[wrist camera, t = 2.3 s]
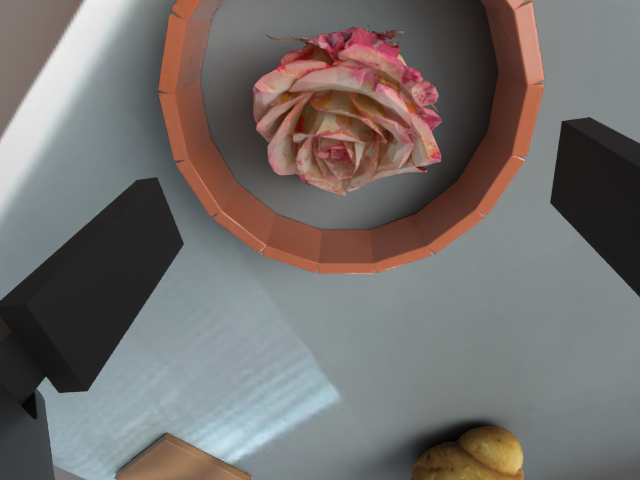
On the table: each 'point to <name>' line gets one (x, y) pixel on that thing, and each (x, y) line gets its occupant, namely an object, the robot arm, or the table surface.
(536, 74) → the terracotta brick ring
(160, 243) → the robot arm
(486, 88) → the table surface
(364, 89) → the flower
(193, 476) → the brown wooden square board
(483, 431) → the bread roll
